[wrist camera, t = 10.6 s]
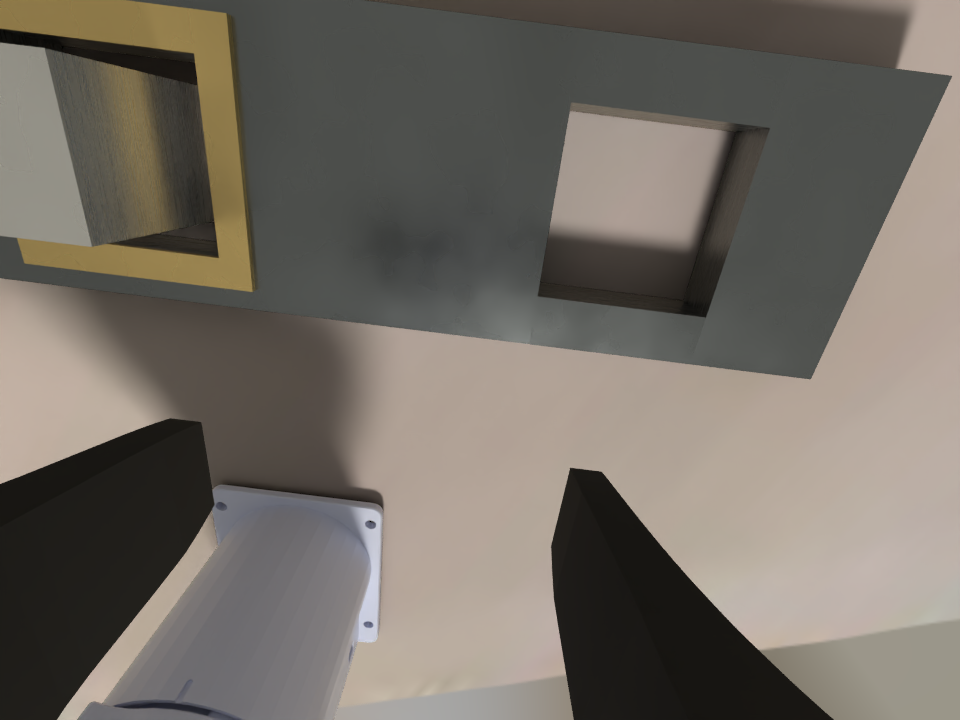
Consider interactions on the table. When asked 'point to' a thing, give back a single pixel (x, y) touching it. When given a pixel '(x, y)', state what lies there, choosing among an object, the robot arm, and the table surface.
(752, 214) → the grey slotted board
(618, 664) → the robot arm
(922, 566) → the table surface
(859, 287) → the table surface
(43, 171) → the steel block
